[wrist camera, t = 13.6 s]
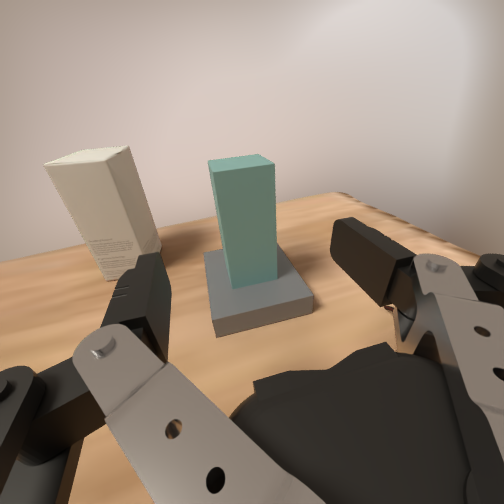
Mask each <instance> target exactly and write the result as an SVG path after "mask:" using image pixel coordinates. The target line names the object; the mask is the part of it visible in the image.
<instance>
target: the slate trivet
mask: <svg viewBox="0 0 504 504" xmlns="http://www.w3.org/2000/svg"><path fill="white" fill-rule="evenodd" d="M204 261H205V269H206V277H207V285H208V293H209V301H210V309H211V317H212V323H213V326H214V330H215V334H216V338H217V337H221V336H225V335H229V334H233V333H237V332H241V331H245V330H248V329H252V328H256V327H260V326H264V325H268V324H272V323H276V322H279V321H283V320H287V319H291V318H295V317H299V316H303V315H307V314H310V313H312V308H313V297H314V295H313V294H312V292H311V291H310V289H309V288H308V287H307V285H306V284H305V282H304V281H303V279H302V278H301V276H300V275H299V274H298V272H297V271H296V269H295V268H294V266H293V265H292V264H291V262H290V261H289V259H288V258H287V256H286V255H285V254H284V252H283V251H282V249H281V248H280V246H279V245H278V243H277V277H278V279H276V280H272V281H267V282H263V283H259V284H254V285H250V286H245V287H241V288H237V289H232V286H231V282H230V278H229V274H228V271H227V267H226V263H225V257H224V252H223V249H220V250H215V251H210V252H204Z"/></svg>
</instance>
